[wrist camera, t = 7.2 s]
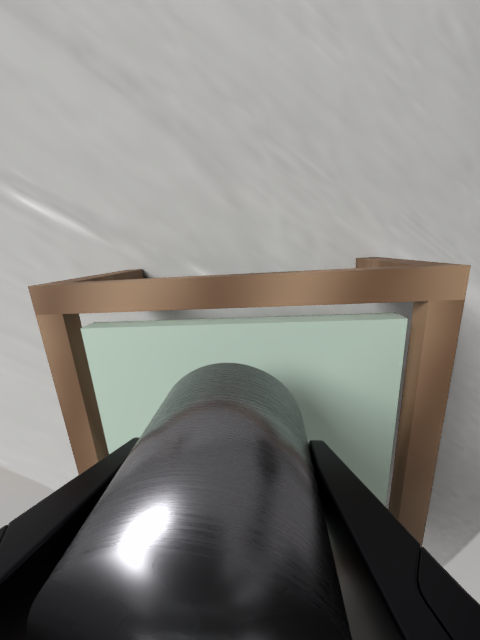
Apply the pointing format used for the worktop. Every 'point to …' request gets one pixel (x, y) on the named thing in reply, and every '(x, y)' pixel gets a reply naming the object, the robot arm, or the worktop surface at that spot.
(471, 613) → the robot arm
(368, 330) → the trapdoor
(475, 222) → the worktop surface
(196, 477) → the cylinder
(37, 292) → the stand
